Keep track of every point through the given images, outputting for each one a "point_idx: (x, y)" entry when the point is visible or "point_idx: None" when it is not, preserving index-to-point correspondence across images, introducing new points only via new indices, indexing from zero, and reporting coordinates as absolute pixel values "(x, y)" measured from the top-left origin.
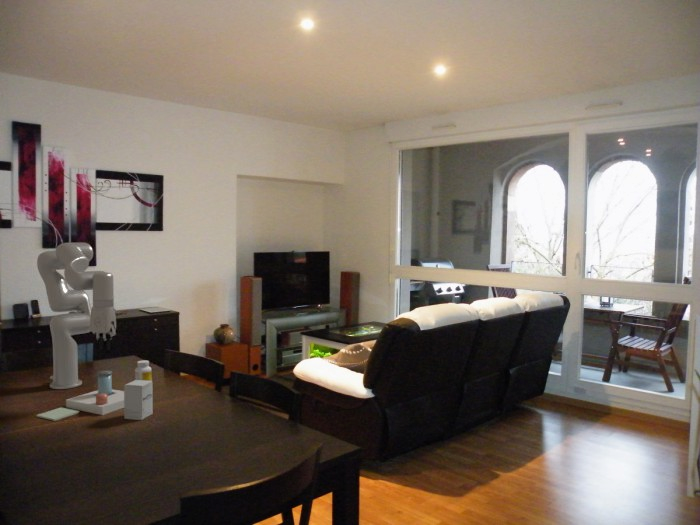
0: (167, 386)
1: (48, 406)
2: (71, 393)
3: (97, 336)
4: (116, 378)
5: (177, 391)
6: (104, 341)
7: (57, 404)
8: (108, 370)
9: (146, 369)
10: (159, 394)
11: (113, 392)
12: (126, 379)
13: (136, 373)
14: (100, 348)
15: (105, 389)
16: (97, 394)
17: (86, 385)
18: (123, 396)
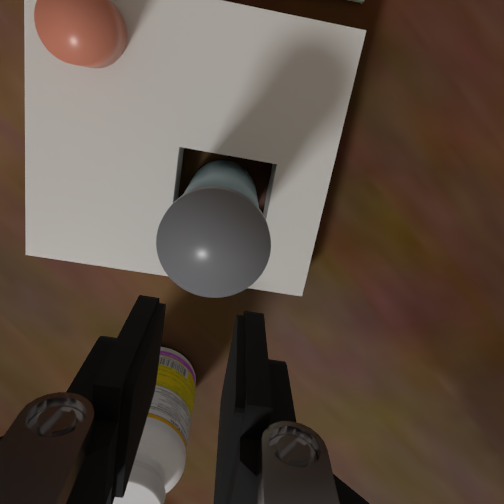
0: None
1: (465, 20)
2: (485, 253)
3: (293, 482)
4: (419, 487)
5: (10, 415)
6: (95, 394)
7: (438, 69)
8: (224, 296)
9: None
10: (52, 359)
11: None
12: (365, 487)
13: (149, 413)
14: (233, 339)
15: (190, 184)
16: (106, 19)
17: (491, 374)
18: (82, 192)
